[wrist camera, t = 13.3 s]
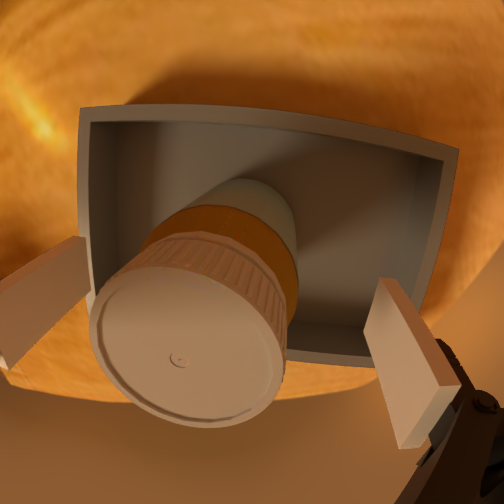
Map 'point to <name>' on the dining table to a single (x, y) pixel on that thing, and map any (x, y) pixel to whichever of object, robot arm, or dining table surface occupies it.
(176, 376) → the bottle
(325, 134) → the crate
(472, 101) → the dining table surface
